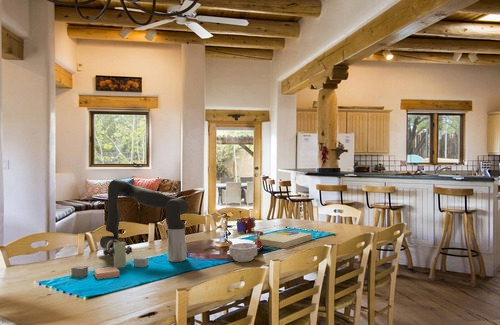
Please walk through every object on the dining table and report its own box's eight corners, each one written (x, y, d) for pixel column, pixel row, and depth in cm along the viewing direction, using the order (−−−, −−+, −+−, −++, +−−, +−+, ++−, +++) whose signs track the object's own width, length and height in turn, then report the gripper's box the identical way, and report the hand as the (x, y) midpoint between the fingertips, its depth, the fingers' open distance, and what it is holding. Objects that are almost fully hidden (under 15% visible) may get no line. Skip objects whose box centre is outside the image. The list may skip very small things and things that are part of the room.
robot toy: (233, 234, 306) (251, 228, 320) (241, 235, 300) (260, 229, 314) (231, 211, 305) (249, 206, 319) (240, 212, 298) (258, 207, 313)
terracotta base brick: (115, 272, 202) (115, 266, 202) (119, 277, 193) (119, 270, 193) (93, 275, 197) (93, 268, 197) (96, 280, 188) (96, 273, 188)
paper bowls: (223, 261, 221) (223, 246, 221) (239, 255, 233) (239, 241, 233) (247, 265, 212) (247, 249, 212) (262, 259, 225) (262, 244, 225)
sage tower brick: (123, 264, 215) (123, 241, 215) (125, 266, 210) (125, 243, 210) (113, 265, 212) (113, 242, 212) (115, 267, 208) (115, 244, 208)
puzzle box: (252, 244, 266) (283, 249, 251) (252, 237, 266) (283, 241, 251) (283, 236, 294) (313, 240, 279) (283, 230, 294) (313, 233, 279)
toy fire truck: (253, 251, 245) (253, 234, 245) (258, 246, 259) (258, 230, 259) (259, 251, 245) (259, 235, 244) (263, 246, 258) (263, 231, 258)
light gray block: (148, 265, 214) (148, 257, 213) (144, 267, 210) (144, 259, 210) (137, 264, 215) (137, 257, 215) (133, 266, 211) (133, 258, 211)
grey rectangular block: (87, 275, 196) (87, 266, 196) (82, 277, 192) (82, 268, 192) (77, 274, 197) (77, 265, 197) (71, 276, 194) (71, 267, 193)
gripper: (100, 241, 221) (105, 247, 206) (128, 239, 227) (134, 244, 213) (100, 255, 221) (105, 262, 206) (128, 252, 227) (134, 259, 213)
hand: (120, 253), depth 209 cm, fingers open, 7 cm apart
